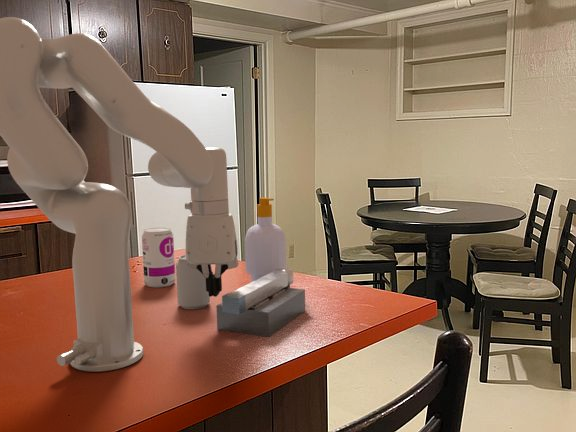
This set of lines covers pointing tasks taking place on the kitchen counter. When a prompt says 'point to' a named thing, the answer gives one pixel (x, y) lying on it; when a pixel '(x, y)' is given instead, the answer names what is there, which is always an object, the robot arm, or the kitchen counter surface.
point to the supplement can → (158, 257)
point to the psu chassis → (265, 313)
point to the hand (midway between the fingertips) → (214, 294)
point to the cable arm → (256, 291)
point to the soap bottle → (264, 244)
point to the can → (190, 286)
